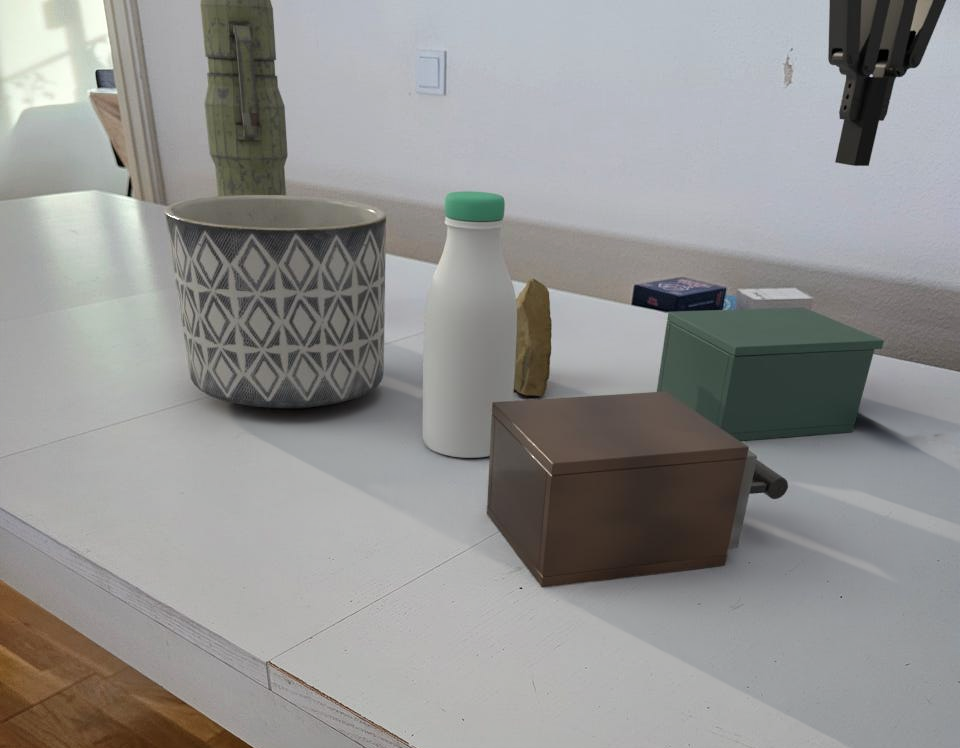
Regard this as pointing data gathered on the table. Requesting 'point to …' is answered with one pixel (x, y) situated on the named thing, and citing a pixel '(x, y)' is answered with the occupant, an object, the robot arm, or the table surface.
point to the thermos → (244, 98)
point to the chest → (764, 387)
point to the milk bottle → (468, 329)
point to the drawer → (755, 491)
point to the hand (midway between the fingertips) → (851, 163)
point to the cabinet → (612, 486)
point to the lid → (773, 331)
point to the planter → (280, 297)
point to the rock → (533, 340)
